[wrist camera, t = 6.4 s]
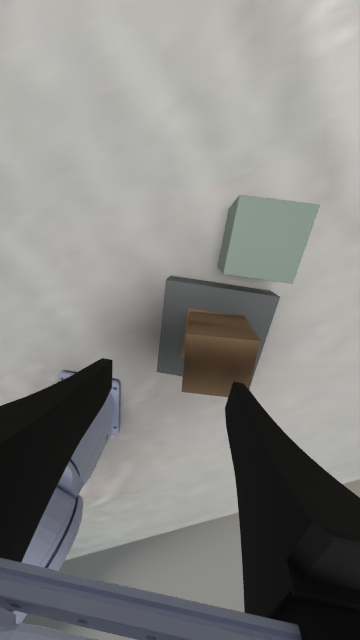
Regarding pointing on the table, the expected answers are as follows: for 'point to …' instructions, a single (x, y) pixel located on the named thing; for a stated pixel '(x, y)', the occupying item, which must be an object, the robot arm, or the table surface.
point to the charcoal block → (208, 299)
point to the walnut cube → (218, 353)
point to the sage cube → (266, 238)
